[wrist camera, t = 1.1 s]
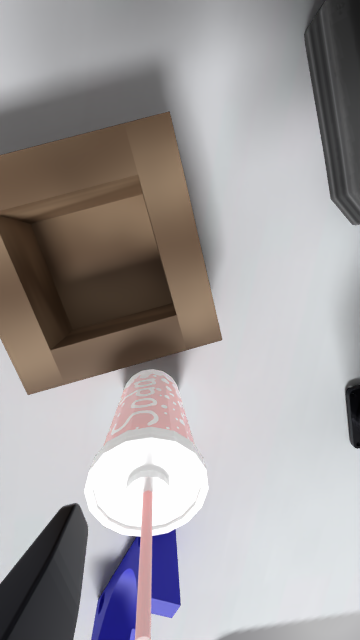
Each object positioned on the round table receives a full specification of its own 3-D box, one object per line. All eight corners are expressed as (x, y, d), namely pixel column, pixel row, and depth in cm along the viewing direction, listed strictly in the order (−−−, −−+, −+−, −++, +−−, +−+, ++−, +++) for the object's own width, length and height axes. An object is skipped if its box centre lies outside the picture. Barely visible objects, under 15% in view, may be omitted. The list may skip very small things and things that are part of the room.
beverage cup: (190, 361, 21) (255, 561, 7) (184, 425, 22) (229, 693, 9) (114, 359, 20) (27, 573, 6) (113, 425, 21) (41, 714, 8)
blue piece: (137, 607, 27) (131, 701, 21) (98, 598, 26) (81, 694, 21) (188, 528, 25) (197, 609, 19) (148, 515, 24) (145, 596, 19)
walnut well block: (206, 319, 20) (222, 339, 15) (59, 360, 20) (28, 395, 15) (165, 153, 17) (169, 111, 12) (-10, 199, 16) (-79, 175, 12)
